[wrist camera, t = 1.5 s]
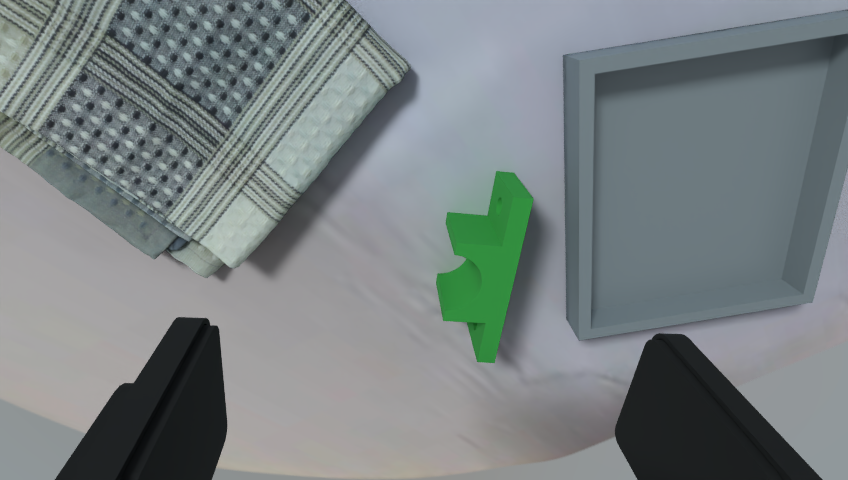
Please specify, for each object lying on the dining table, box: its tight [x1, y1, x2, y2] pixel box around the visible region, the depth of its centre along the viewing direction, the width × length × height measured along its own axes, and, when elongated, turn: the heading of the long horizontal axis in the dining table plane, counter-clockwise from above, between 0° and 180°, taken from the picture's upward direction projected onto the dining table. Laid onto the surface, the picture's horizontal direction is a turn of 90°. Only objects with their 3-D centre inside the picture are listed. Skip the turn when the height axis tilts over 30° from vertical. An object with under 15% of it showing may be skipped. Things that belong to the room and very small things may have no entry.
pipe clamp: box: [436, 171, 533, 363], centre depth 30 cm, size 11×4×5 cm, turn 173°
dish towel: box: [0, 0, 411, 278], centre depth 25 cm, size 19×18×3 cm
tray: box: [563, 10, 848, 341], centre depth 30 cm, size 16×18×2 cm
